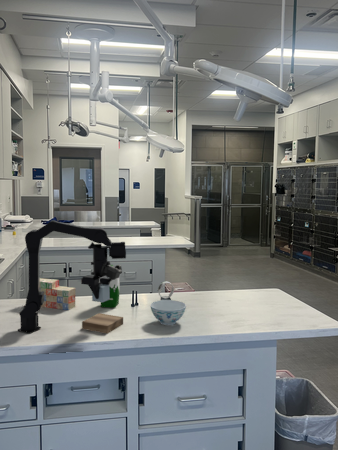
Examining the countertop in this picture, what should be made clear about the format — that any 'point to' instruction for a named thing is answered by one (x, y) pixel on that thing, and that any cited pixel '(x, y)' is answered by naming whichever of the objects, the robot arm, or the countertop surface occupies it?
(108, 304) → the milk carton
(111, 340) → the countertop surface
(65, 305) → the stack of blocks
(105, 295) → the grey block
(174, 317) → the chinaware
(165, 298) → the watch
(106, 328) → the walnut base
